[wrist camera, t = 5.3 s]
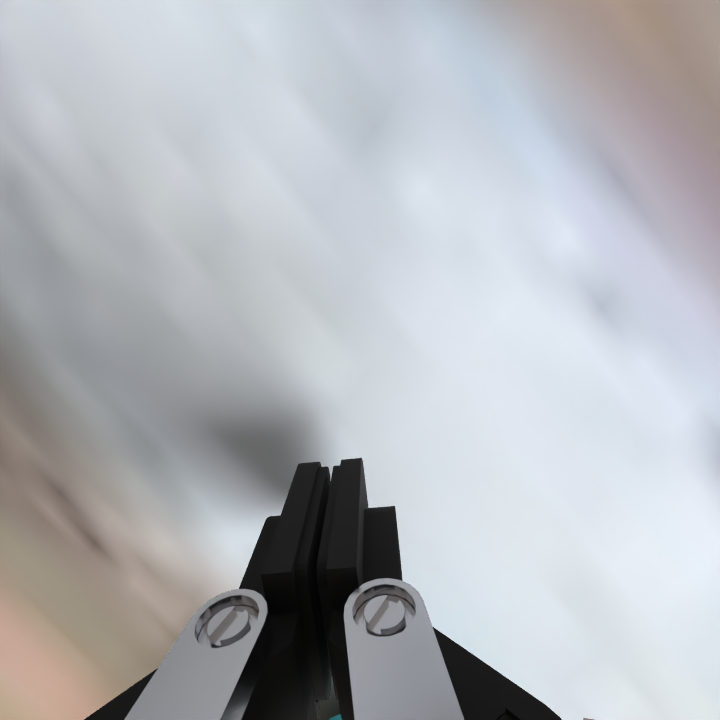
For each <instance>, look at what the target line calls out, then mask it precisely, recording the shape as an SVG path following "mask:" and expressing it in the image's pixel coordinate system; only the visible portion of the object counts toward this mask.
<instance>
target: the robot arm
mask: <svg viewBox="0 0 720 720" xmlns="http://www.w3.org/2000/svg"><path fill="white" fill-rule="evenodd" d="M331 676H332V677H333V683H334V689H335V695H336V699H338V701H339V707H340V713H341V719H342V720H562V719H561V718H560V717H559V716H558V715H557V714H555V713H554V712H553V711H552V710H551V709H550V708H549V707H547V706H546V705H545V704H543V703H542V702H541V701H539V700H538V699H536V698H535V697H533V696H532V695H530V694H529V693H528V692H526V691H525V690H523V689H522V688H520V687H519V686H517V685H516V684H515V683H513V682H512V681H510V680H509V679H507V678H506V677H504V676H503V675H502V674H500V673H499V672H497V671H496V670H494V669H493V668H491V667H490V666H489V665H487V664H486V663H484V662H483V661H481V660H480V659H478V658H477V657H476V656H474V655H473V654H471V653H470V652H468V651H467V650H465V649H464V648H463V647H461V646H460V645H458V644H457V643H455V642H454V641H452V640H451V639H450V638H448V637H447V636H445V635H444V634H442V633H441V632H439V631H438V630H436V629H435V628H434V627H432V624H431V621H430V618H429V615H428V612H427V610H426V607H425V604H424V601H423V599H422V597H421V596H420V594H419V592H418V591H417V590H416V589H415V588H414V587H412V586H411V585H410V584H408V583H406V582H403V581H402V570H401V560H400V550H399V540H398V530H397V521H396V511H395V506H390V507H378V508H368V501H367V492H366V484H365V476H364V467H363V461H362V458H357V459H346V460H341V464H340V466H334V467H333V472H332V478H331V481H330V474H329V468H328V467H321V464H320V462H312V463H301V464H298V466H297V469H296V472H295V475H294V478H293V481H292V484H291V487H290V490H289V493H288V496H287V499H286V501H285V504H284V507H283V510H282V513H281V516H270V517H268V518H267V519H266V521H265V523H264V526H263V528H262V531H261V534H260V536H259V539H258V541H257V544H256V546H255V549H254V551H253V554H252V557H251V559H250V562H249V564H248V567H247V569H246V572H245V574H244V577H243V580H242V582H241V585H240V587H239V589H236V590H231V591H227V592H224V593H221V594H219V595H217V596H215V597H214V598H212V599H210V600H209V601H207V602H206V603H205V604H204V605H202V606H201V607H200V608H199V609H198V610H197V611H196V613H195V614H194V615H193V616H192V617H191V619H190V620H189V622H188V623H187V625H186V626H185V628H184V629H183V631H182V632H181V634H180V636H179V637H178V639H177V640H176V642H175V643H174V645H173V646H172V648H171V649H170V651H169V652H168V654H167V655H166V657H165V658H164V660H163V661H162V663H161V664H160V666H159V668H157V669H156V670H154V671H153V672H152V673H150V674H149V675H147V676H146V677H144V678H143V679H142V680H140V681H139V682H137V683H136V684H134V685H133V686H132V687H130V688H129V689H127V690H126V691H124V692H123V693H121V694H120V695H119V696H117V697H116V698H114V699H113V700H111V701H110V702H109V703H107V704H106V705H104V706H103V707H101V708H100V709H99V710H97V711H96V712H94V713H93V714H91V715H90V716H89V717H87V718H86V719H84V720H318V715H319V706H320V700H328V699H329V696H330V687H331ZM583 720H593V719H587V718H583Z"/></svg>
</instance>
